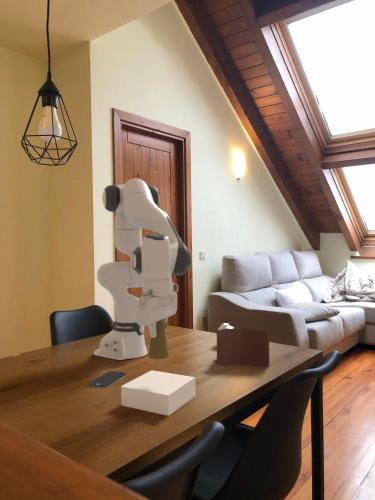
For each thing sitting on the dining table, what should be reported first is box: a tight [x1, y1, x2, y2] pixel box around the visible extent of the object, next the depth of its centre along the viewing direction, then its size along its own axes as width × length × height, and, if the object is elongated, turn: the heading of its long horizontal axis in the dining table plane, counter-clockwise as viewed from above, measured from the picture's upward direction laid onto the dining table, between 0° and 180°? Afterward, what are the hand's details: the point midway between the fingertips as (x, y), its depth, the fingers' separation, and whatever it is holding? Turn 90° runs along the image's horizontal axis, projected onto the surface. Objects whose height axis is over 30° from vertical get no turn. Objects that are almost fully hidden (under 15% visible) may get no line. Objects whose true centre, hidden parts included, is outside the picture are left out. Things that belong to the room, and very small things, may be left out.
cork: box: [148, 320, 170, 360], centre depth 122 cm, size 6×6×11 cm
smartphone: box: [87, 370, 127, 389], centre depth 142 cm, size 8×1×15 cm
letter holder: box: [216, 327, 271, 367], centre depth 160 cm, size 10×20×14 cm, turn 78°
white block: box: [120, 370, 197, 417], centre depth 123 cm, size 16×16×6 cm
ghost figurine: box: [217, 322, 235, 331], centre depth 184 cm, size 9×10×10 cm
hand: (158, 335), depth 122 cm, fingers closed on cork, 4 cm apart
